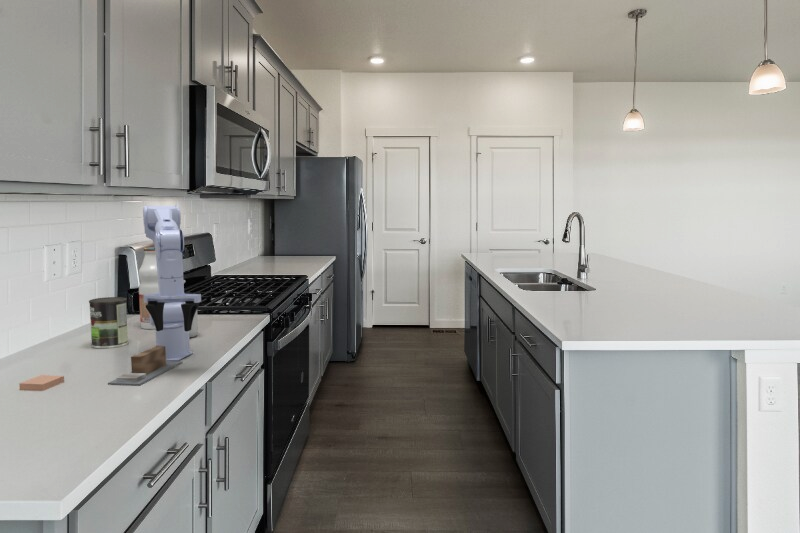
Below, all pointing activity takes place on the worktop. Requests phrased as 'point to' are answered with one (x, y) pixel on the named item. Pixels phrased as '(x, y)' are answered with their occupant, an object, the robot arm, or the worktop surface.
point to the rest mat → (150, 374)
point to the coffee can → (108, 322)
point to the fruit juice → (147, 284)
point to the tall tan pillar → (145, 364)
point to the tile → (41, 382)
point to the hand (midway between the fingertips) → (173, 330)
